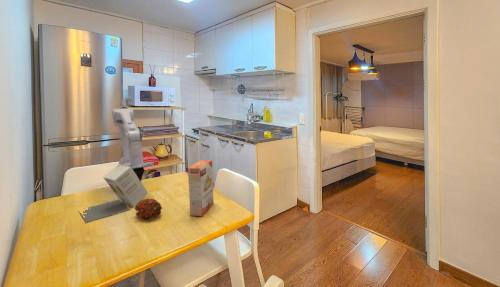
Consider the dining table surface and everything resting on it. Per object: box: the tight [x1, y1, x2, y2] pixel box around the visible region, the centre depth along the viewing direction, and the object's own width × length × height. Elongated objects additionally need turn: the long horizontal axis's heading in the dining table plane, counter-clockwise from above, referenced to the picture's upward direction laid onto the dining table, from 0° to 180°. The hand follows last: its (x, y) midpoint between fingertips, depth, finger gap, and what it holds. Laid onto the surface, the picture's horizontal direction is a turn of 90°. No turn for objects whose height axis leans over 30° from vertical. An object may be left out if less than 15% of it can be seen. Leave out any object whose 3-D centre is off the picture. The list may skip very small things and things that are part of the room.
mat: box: [81, 199, 131, 224], centre depth 113 cm, size 16×17×1 cm
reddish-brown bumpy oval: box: [134, 198, 163, 220], centre depth 105 cm, size 8×8×12 cm
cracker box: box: [187, 159, 214, 217], centre depth 110 cm, size 14×6×21 cm, turn 168°
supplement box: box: [103, 163, 149, 208], centre depth 117 cm, size 10×9×17 cm
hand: (139, 183), depth 121 cm, fingers closed, pressing on supplement box
